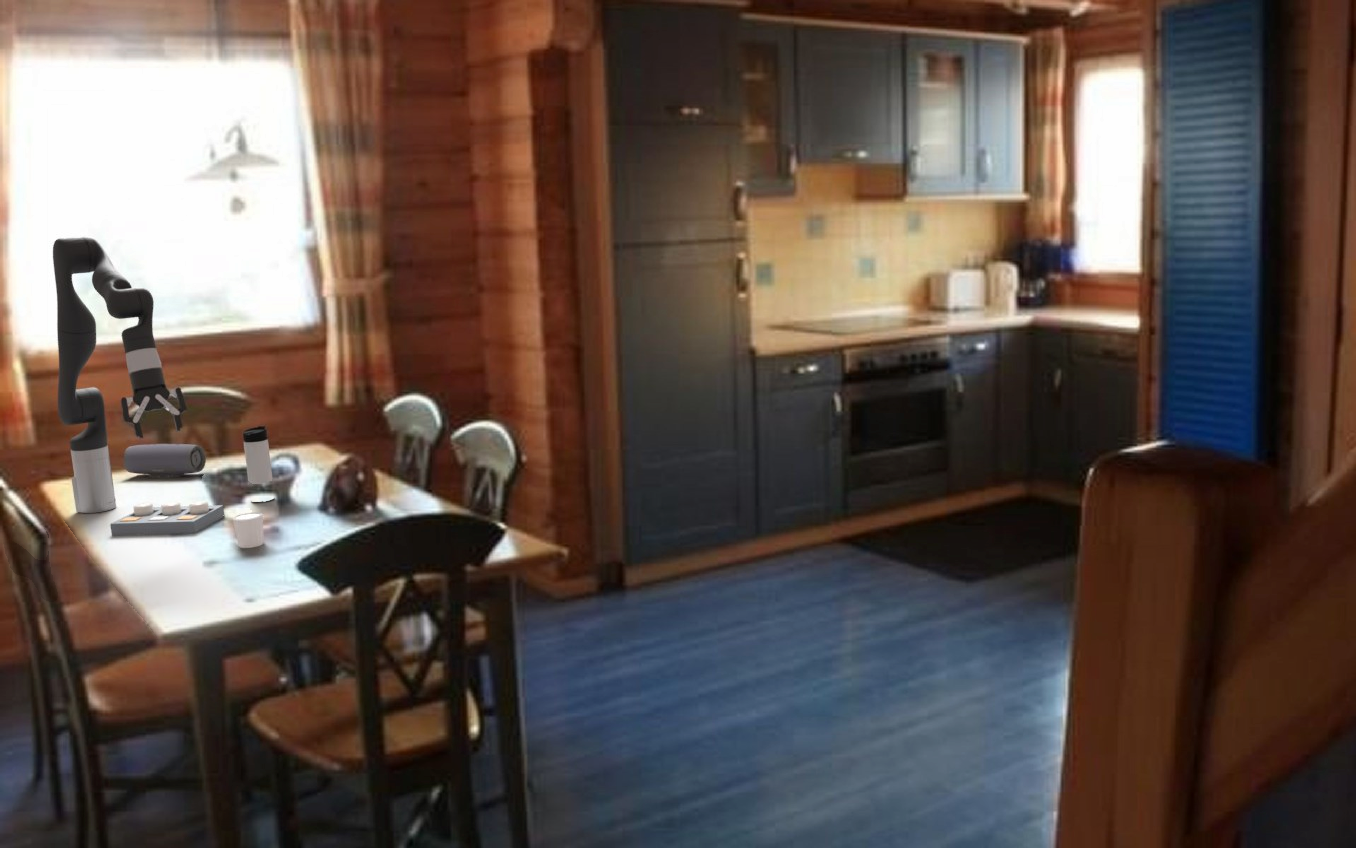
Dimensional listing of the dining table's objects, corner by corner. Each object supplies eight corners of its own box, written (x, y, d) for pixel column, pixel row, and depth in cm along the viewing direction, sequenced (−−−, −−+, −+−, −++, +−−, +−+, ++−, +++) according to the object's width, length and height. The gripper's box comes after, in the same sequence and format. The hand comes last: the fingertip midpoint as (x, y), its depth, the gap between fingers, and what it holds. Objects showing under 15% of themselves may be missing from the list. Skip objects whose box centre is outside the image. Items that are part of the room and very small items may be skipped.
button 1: (131, 519, 331) (129, 508, 331) (140, 514, 336) (139, 503, 335) (148, 519, 331) (146, 507, 330) (157, 514, 335) (155, 503, 335)
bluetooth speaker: (209, 472, 395) (205, 440, 394) (191, 479, 387) (187, 446, 385) (143, 473, 401) (139, 441, 399) (124, 480, 392) (120, 447, 390)
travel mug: (280, 497, 355) (272, 425, 351) (263, 503, 349) (254, 430, 345) (262, 496, 358) (254, 425, 354) (245, 502, 352) (236, 430, 348)
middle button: (159, 518, 330) (157, 507, 330) (168, 514, 335) (166, 502, 334) (176, 518, 330) (174, 506, 329) (184, 513, 334) (183, 502, 334)
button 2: (187, 517, 329) (185, 506, 329) (195, 513, 334) (194, 501, 333) (204, 517, 329) (202, 505, 328) (212, 512, 333) (211, 501, 333)
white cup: (238, 550, 303) (234, 521, 302) (233, 544, 309) (230, 515, 308) (268, 545, 306) (265, 516, 305) (263, 539, 312) (260, 510, 311)
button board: (111, 535, 324) (110, 523, 324) (144, 518, 340) (143, 506, 339) (195, 533, 322) (193, 520, 321) (224, 516, 337) (223, 504, 337)
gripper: (174, 366, 320) (189, 430, 320) (112, 376, 314) (127, 442, 314) (177, 362, 314) (192, 427, 314) (114, 372, 307) (129, 439, 307)
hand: (160, 434), depth 314 cm, fingers open, 8 cm apart
